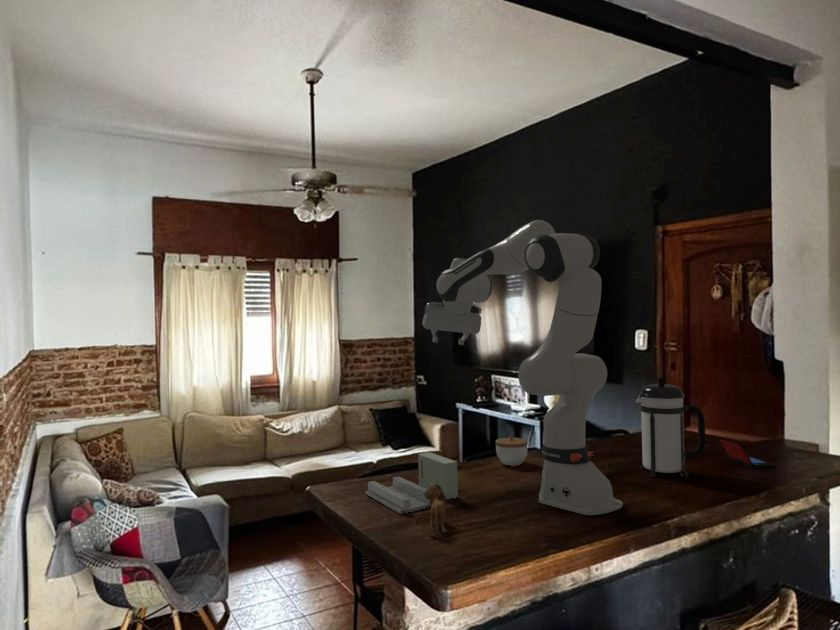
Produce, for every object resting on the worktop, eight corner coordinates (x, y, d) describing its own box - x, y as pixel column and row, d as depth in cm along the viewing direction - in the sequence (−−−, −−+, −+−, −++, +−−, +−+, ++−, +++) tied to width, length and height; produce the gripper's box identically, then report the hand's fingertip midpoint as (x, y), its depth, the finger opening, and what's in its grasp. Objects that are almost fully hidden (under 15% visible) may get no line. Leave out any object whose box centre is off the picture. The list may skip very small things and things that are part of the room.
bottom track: (439, 505, 154) (439, 492, 154) (400, 514, 148) (400, 500, 148) (401, 487, 171) (401, 475, 171) (365, 495, 165) (364, 482, 165)
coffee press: (676, 483, 169) (673, 380, 169) (628, 472, 182) (625, 376, 182) (707, 473, 179) (704, 376, 180) (659, 463, 192) (657, 372, 192)
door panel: (458, 497, 161) (457, 461, 161) (445, 500, 159) (444, 463, 159) (430, 485, 173) (429, 452, 173) (418, 488, 170) (418, 454, 170)
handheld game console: (774, 468, 184) (774, 445, 184) (741, 470, 183) (741, 446, 183) (750, 459, 196) (749, 437, 196) (719, 460, 196) (718, 438, 196)
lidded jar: (509, 469, 188) (509, 440, 189) (489, 462, 198) (488, 435, 198) (534, 464, 194) (534, 436, 194) (514, 458, 203) (513, 431, 203)
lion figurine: (423, 518, 145) (422, 482, 145) (444, 516, 146) (443, 480, 146) (430, 540, 130) (430, 500, 130) (454, 538, 131) (453, 498, 131)
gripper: (429, 303, 190) (421, 343, 193) (486, 310, 197) (478, 348, 200) (423, 298, 196) (416, 337, 199) (479, 305, 202) (471, 342, 206)
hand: (447, 343), depth 200 cm, fingers open, 8 cm apart
